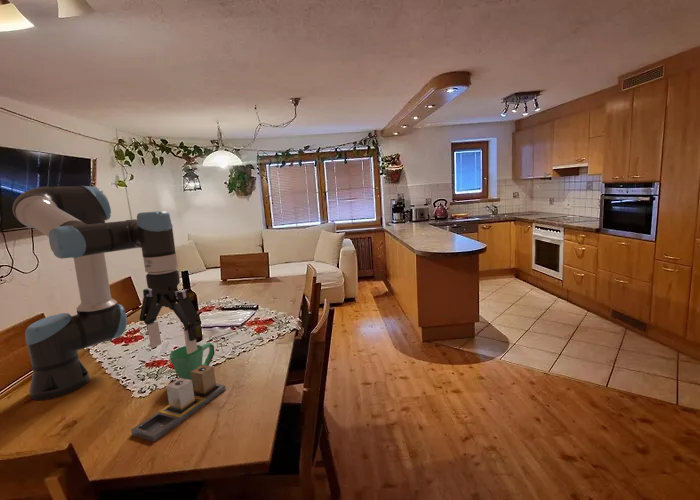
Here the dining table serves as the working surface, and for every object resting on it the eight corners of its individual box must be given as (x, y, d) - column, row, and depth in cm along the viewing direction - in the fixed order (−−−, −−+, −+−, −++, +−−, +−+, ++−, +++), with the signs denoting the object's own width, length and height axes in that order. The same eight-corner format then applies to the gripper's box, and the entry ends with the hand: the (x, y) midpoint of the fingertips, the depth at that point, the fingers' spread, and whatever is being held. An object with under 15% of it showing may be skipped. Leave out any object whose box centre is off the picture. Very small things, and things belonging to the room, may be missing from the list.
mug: (186, 391, 108) (181, 360, 107) (167, 384, 113) (162, 354, 112) (225, 369, 120) (221, 341, 119) (206, 364, 125) (202, 337, 124)
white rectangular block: (170, 413, 96) (166, 385, 95) (184, 404, 100) (180, 377, 99) (182, 416, 95) (178, 388, 93) (195, 406, 99) (191, 379, 97)
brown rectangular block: (193, 397, 104) (190, 371, 102) (205, 389, 108) (202, 364, 106) (205, 400, 102) (201, 373, 100) (217, 391, 106) (213, 366, 105)
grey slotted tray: (132, 436, 88) (131, 429, 88) (206, 386, 110) (205, 381, 110) (154, 443, 85) (153, 436, 85) (225, 390, 107) (225, 385, 106)
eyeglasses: (207, 348, 140) (205, 336, 139) (237, 335, 152) (236, 324, 152) (233, 356, 131) (231, 344, 131) (263, 341, 143) (262, 329, 143)
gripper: (116, 273, 93) (129, 349, 96) (185, 276, 83) (197, 361, 86) (142, 267, 100) (154, 338, 103) (209, 269, 90) (219, 348, 93)
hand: (173, 348), depth 95 cm, fingers open, 13 cm apart
